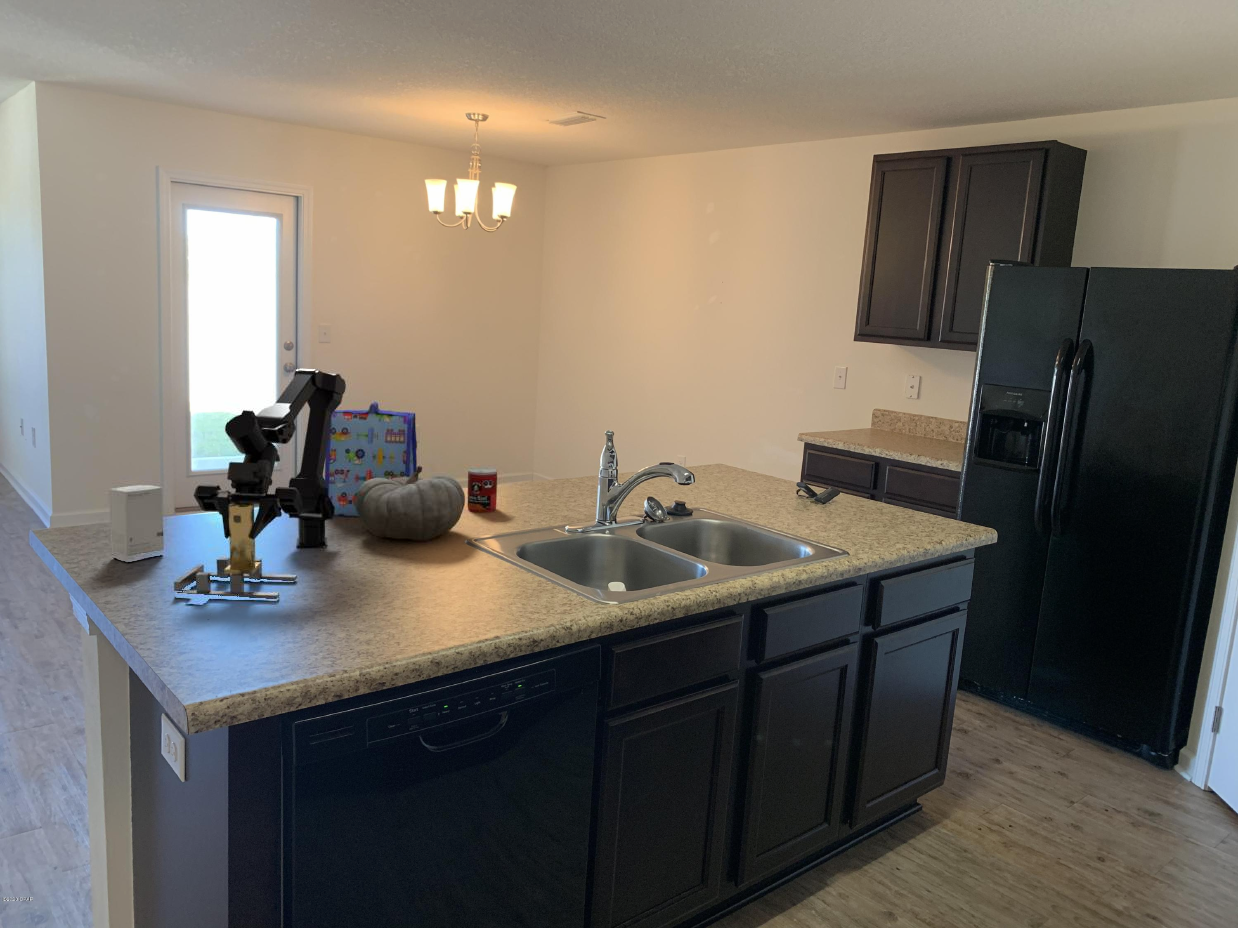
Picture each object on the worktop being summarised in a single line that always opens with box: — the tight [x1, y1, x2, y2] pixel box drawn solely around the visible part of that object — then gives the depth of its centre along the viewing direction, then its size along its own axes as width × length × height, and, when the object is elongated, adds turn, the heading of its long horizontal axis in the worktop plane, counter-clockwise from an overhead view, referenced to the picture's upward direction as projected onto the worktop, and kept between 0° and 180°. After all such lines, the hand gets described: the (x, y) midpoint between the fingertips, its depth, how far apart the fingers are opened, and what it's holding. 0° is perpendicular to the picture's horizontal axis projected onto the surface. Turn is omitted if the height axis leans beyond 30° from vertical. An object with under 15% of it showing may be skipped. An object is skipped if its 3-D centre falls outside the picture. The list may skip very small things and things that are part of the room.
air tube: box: [224, 503, 261, 574], centre depth 167 cm, size 5×5×12 cm
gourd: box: [355, 465, 466, 542], centre depth 211 cm, size 25×25×17 cm
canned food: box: [467, 466, 498, 513], centre depth 242 cm, size 8×8×11 cm
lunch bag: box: [324, 401, 418, 517], centre depth 231 cm, size 22×14×29 cm, turn 92°
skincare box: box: [108, 484, 165, 556], centre depth 184 cm, size 8×6×15 cm
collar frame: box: [173, 556, 298, 599], centre depth 167 cm, size 16×18×4 cm
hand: (239, 537), depth 166 cm, fingers closed on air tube, 4 cm apart
